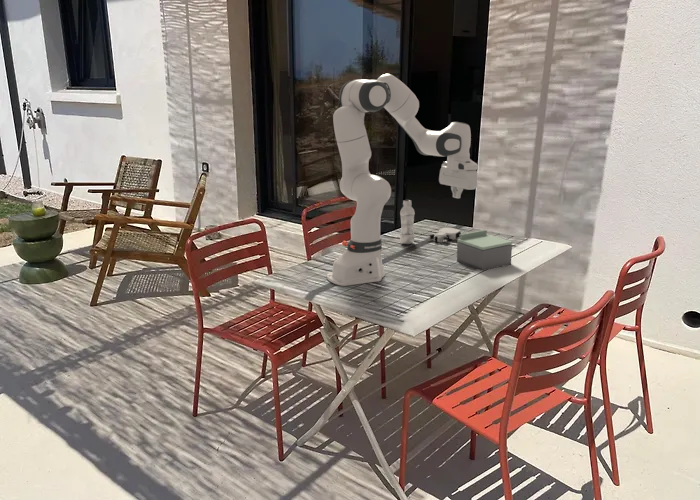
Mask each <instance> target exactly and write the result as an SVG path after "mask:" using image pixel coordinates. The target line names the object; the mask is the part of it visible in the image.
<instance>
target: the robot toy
mask: <svg viewBox="0 0 700 500" xmlns="http://www.w3.org/2000/svg"><path fill="white" fill-rule="evenodd" d="M463 233H466V232H465V230H463V232H462V231H461V230H460V229H457V228H453V227H445V226H443V227H442V228H441V229H439V230H438V231H437V232H436V233H435V234H434V233H433V234H429V236H428V235H427V236H426V239H428V240H429V239H430V240H433V241H434V242H437V243H441V242H442V243H447V242H448V241H449V240H453V241H456V240H457V239H459V237H460V234H463Z"/></svg>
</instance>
